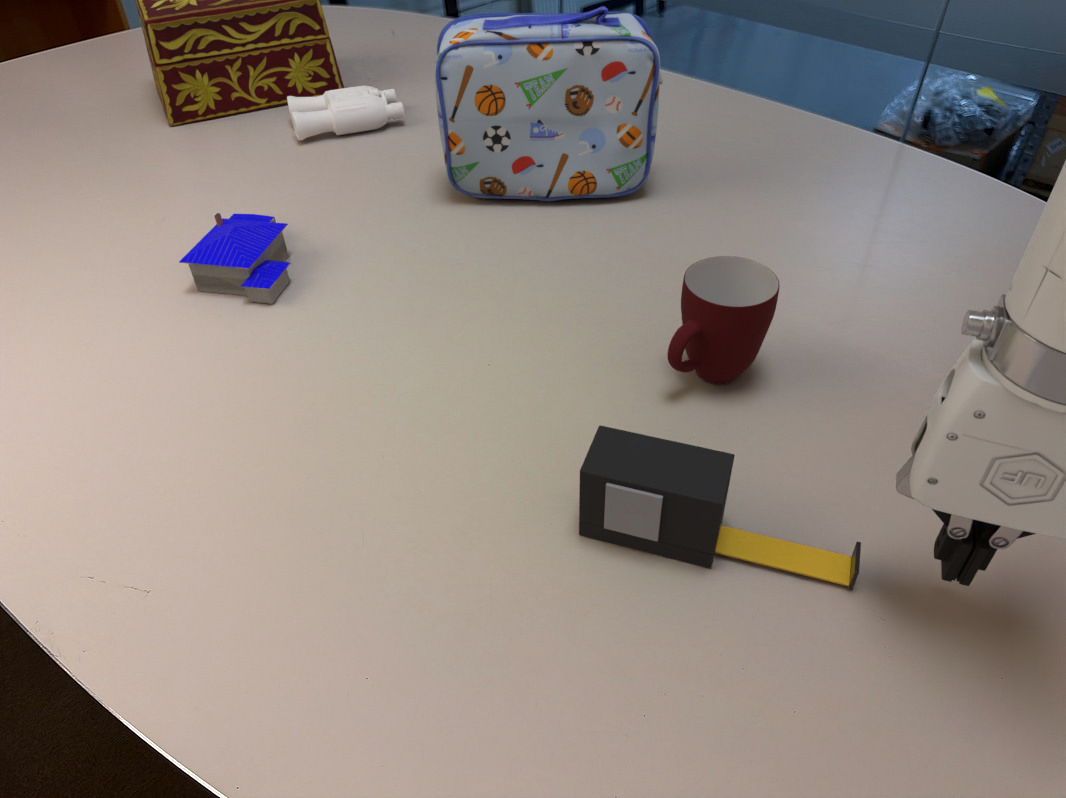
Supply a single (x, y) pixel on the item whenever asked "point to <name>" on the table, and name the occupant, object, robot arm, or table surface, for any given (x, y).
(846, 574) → the tape blade
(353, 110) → the binoculars
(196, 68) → the decorative box
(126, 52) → the table surface
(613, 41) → the lunch box
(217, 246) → the house
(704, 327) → the mug
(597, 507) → the tape case
